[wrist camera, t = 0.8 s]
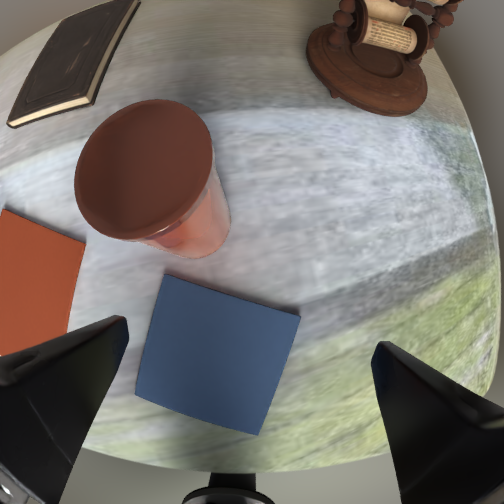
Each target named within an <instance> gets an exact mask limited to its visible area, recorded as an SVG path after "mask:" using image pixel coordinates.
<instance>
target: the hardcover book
mask: <svg viewBox="0 0 504 504" xmlns="http://www.w3.org/2000/svg"><path fill="white" fill-rule="evenodd" d="M140 4H141V2H138V1H137V0H114V1H110V2H107V3H104V4H101V5H98V6H96V7H93V8H90V9H87V10H85V11H82V12H80V13H77V14H75V15H72V16H70V17H68V18H65V19H63V20H62V21H61V23H60V24H59V25H58V27H57V28H56V30H55V31H54V33H53V34H52V35H51V37H50V38H49V40H48V42H47V43H46V45H45V46H44V48H43V49H42V51H41V53H40V54H39V56H38V58H37V60H36V61H35V63H34V65H33V67H32V68H31V70H30V72H29V74H28V76H27V78H26V80H25V82H24V84H23V86H22V88H21V90H20V92H19V94H18V96H17V98H16V101H15V103H14V105H13V107H12V110H11V112H10V115H9V117H8V120H7V122H6V124H7V125H8V126H9V127H10V128H13V129H15V128H18V127H21V126H23V125H26V124H29V123H32V122H35V121H38V120H41V119H44V118H47V117H50V116H53V115H57V114H60V113H64V112H67V111H71V110H75V109H79V108H83V107H87V106H91V105H93V104H94V101H95V98H96V96H97V93H98V90H99V88H100V85H101V82H102V80H103V77H104V75H105V73H106V70H107V68H108V66H109V63H110V61H111V59H112V57H113V54H114V52H115V50H116V48H117V46H118V44H119V42H120V40H121V38H122V36H123V34H124V32H125V30H126V28H127V26H128V24H129V23H130V21H131V19H132V17H133V15H134V14H135V12H136V10H137V9H138V7H139V5H140Z"/></svg>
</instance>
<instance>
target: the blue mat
mask: <svg viewBox="0 0 504 504" xmlns="http://www.w3.org/2000/svg"><path fill="white" fill-rule="evenodd" d="M300 319H301V316H299V315H295V314H292V313H288V312H285V311H281V310H278V309H274V308H271V307H268V306H264V305H261V304H257V303H254V302H251V301H248V300H244V299H241V298H238V297H235V296H231V295H228V294H225V293H222V292H219V291H216V290H213V289H210V288H207V287H203V286H200V285H197V284H194V283H191V282H188V281H186V280H183V279H180V278H177V277H174V276H171V275H168V274H164V276H163V280H162V283H161V287H160V290H159V294H158V297H157V301H156V304H155V308H154V312H153V316H152V319H151V323H150V327H149V331H148V335H147V339H146V343H145V348H144V352H143V356H142V361H141V365H140V370H139V374H138V379H137V384H136V389H135V395H137V396H139V397H141V398H144V399H146V400H148V401H151V402H153V403H155V404H158V405H160V406H163V407H166V408H168V409H171V410H173V411H176V412H179V413H182V414H184V415H187V416H190V417H193V418H196V419H199V420H202V421H205V422H209V423H212V424H215V425H219V426H222V427H226V428H229V429H233V430H237V431H241V432H245V433H249V434H253V435H258V434H259V432H260V429H261V427H262V424H263V422H264V419H265V417H266V414H267V412H268V409H269V407H270V404H271V401H272V399H273V396H274V394H275V391H276V388H277V386H278V383H279V380H280V377H281V375H282V372H283V369H284V366H285V363H286V361H287V358H288V355H289V352H290V349H291V346H292V343H293V340H294V337H295V334H296V331H297V328H298V325H299V322H300Z"/></svg>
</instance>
